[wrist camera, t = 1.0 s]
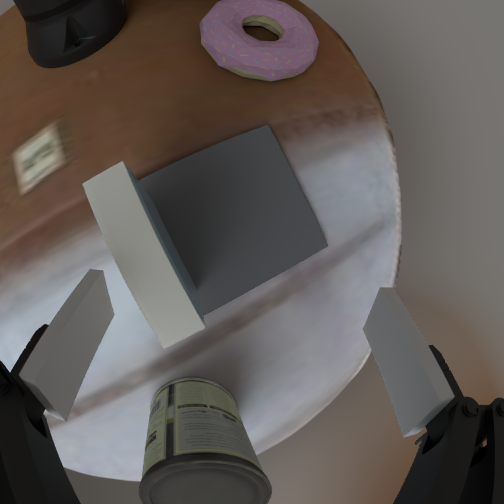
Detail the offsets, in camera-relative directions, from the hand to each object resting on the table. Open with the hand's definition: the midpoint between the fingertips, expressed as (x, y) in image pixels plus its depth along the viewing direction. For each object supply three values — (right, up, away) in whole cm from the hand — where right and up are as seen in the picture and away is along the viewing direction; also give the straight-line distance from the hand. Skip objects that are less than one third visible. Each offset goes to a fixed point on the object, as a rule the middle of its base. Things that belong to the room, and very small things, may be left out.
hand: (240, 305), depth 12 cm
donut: (+1, +30, +17) cm, 34 cm away
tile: (-8, +2, +14) cm, 16 cm away
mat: (-3, +5, +16) cm, 17 cm away
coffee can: (-6, -16, +16) cm, 23 cm away
